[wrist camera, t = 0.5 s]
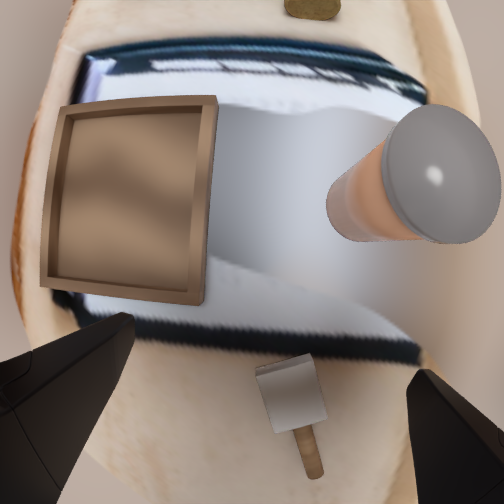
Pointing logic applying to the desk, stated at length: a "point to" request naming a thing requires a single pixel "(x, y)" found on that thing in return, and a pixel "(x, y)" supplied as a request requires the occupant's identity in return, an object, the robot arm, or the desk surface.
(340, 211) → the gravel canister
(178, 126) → the walnut tray
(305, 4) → the gavel
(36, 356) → the robot arm
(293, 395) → the mallet
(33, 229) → the desk surface
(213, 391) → the desk surface
